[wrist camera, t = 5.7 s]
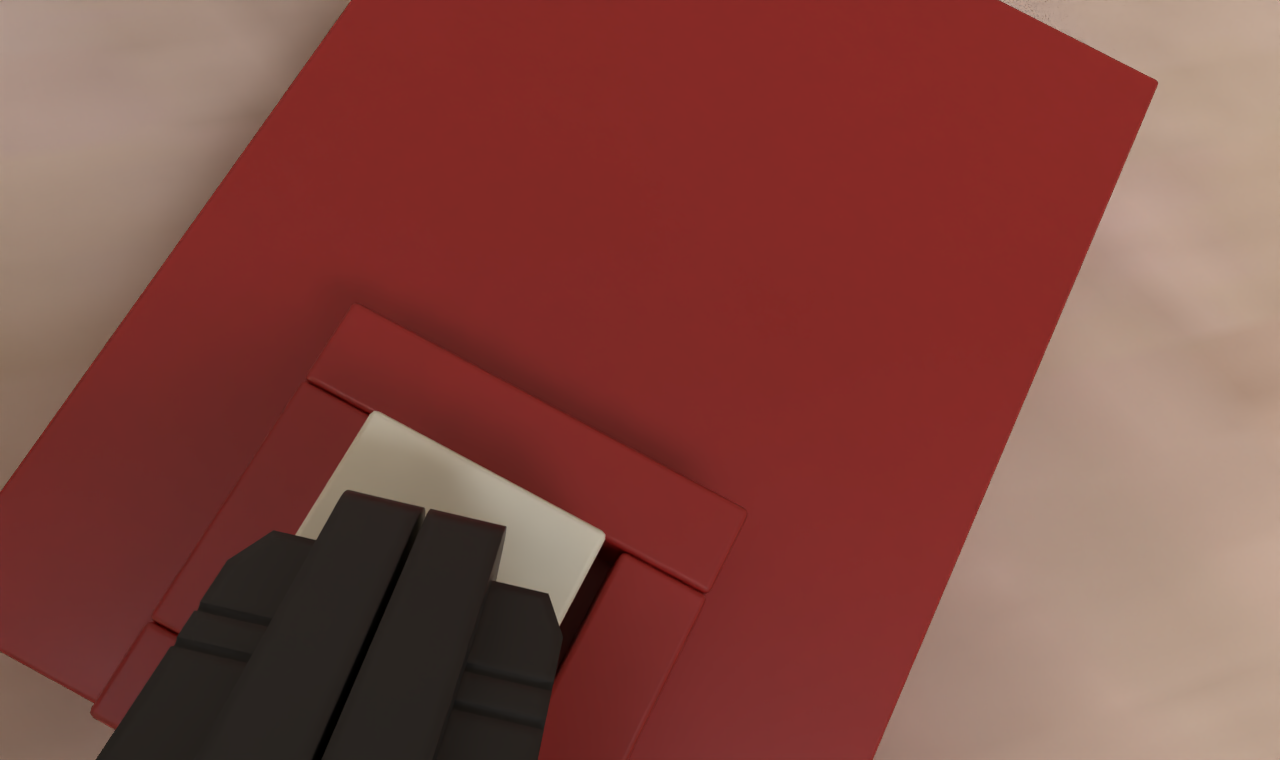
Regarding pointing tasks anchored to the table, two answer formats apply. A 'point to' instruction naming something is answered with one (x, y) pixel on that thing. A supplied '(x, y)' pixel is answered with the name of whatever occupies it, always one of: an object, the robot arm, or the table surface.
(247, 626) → the robot arm
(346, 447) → the red push button box
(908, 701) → the table surface
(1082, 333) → the table surface
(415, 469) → the white cube
